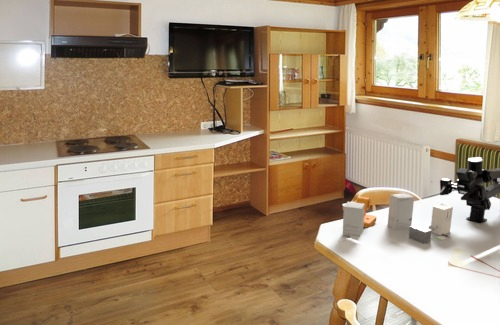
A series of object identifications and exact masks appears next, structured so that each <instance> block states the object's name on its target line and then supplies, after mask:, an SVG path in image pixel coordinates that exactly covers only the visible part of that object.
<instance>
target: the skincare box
mask: <svg viewBox="0 0 500 325" xmlns="http://www.w3.org/2000/svg"><path fill="white" fill-rule="evenodd" d="M414 204H415V196H413V195H410V194H408V193H397V194H395V193H393V194H390V196H389V204H388V205H389V207H388V216H387V226H389V227H390V228H392V229H393V230H402V229H406V228H407V229H410V226H412V221H413V211H414Z"/></svg>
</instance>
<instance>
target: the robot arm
mask: <svg viewBox="0 0 500 325" xmlns="http://www.w3.org/2000/svg"><path fill="white" fill-rule="evenodd" d="M483 161H484V159H483V158H482V157H481V156H475V157H468V159H467V168H464V167H460V168H459V169H458V170H457V171H456V176H457V179H456V183H453V181H452V179H449V178H445V177H443V178H441V179H440V180H439V186H440V187H439V188H440V189H439V190H440V193H439V195H440V196H449V195H450V194H452V191H453V190H456V191H457V194H460V195H462V196H460V201H465V202H466V206H469V207H470V212H469V216H468V217H466V220H468V221H472V222H475V223H479V224H481V223H484V222H486V221H488V219H487V218H485V213H486V211H487V210H488V211H489V210H490V209H491V205H492V202H491V200H490V199H491V198H493V197H495V196H496V195H498V194H500V167H496V168H491V169H484V168H483V166H484V165H483V164H484V162H483ZM484 183H485V184H490V183H492V184H490V185H488V186H486V187H485V186H484Z"/></svg>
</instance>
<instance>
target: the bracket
mask: <svg viewBox="0 0 500 325" xmlns="http://www.w3.org/2000/svg"><path fill="white" fill-rule="evenodd" d="M355 203H363V204H365V208H364V226H363V228H372V227H373V226H375V224H376V221H377V216H376V215H371V214H367V211H369V210H370V207H371V198H369V197H363V196H358V197H357V198H356V201H355Z"/></svg>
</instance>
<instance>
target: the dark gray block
mask: <svg viewBox="0 0 500 325" xmlns="http://www.w3.org/2000/svg"><path fill="white" fill-rule="evenodd" d="M431 231H432V230H431V229H429V227H425V226H421V225H420V224H413V225H411V226H410V228H409V230H408V239H411V240H413V241H415V242H419V243H421V244H423V245H425V244H427V243H430V242H431V239H432V232H431Z"/></svg>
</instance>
